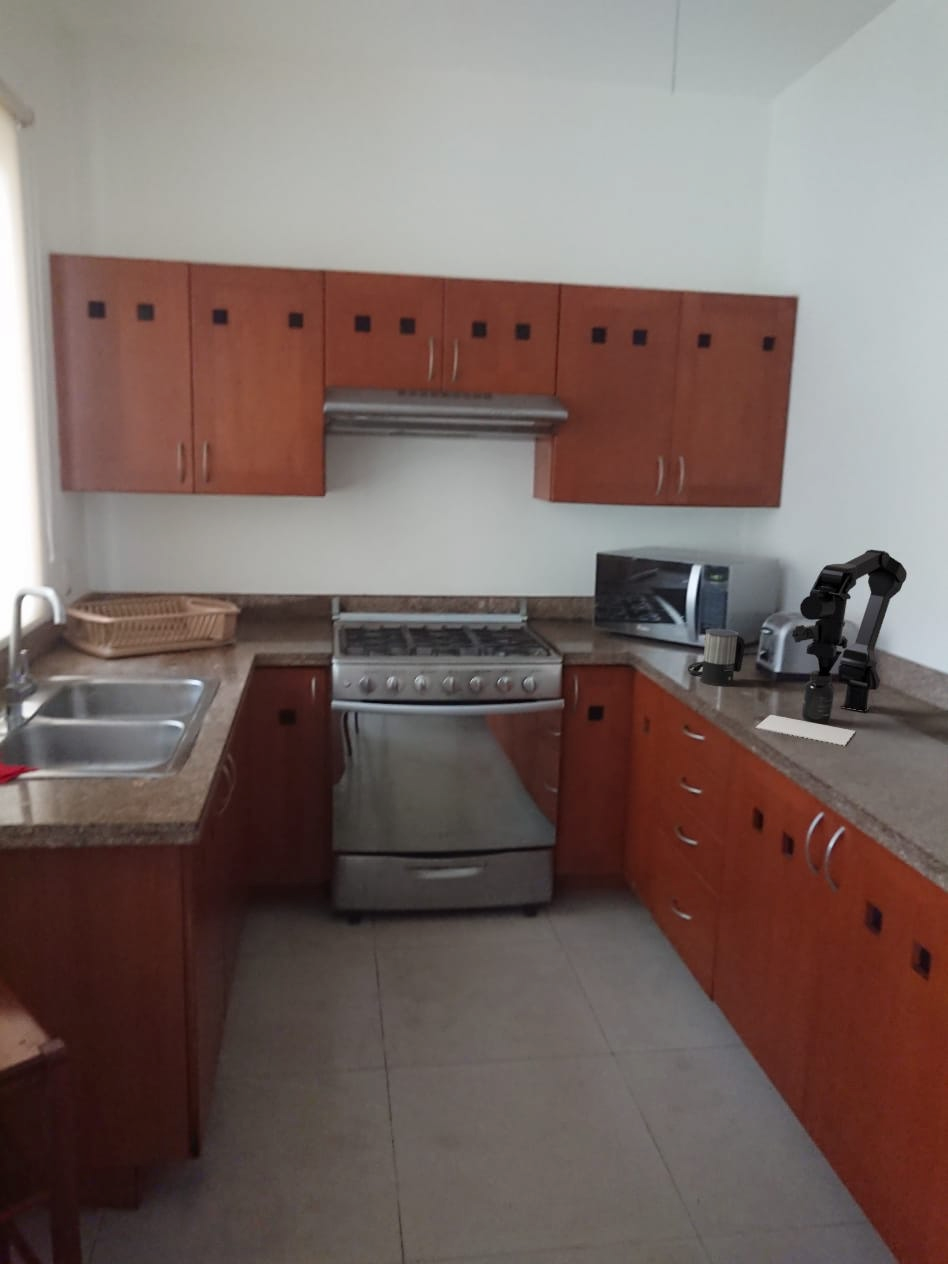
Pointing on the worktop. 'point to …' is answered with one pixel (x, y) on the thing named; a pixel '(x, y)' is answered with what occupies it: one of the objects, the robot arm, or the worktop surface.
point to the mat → (806, 730)
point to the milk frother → (720, 657)
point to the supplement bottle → (818, 698)
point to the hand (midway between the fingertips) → (822, 679)
